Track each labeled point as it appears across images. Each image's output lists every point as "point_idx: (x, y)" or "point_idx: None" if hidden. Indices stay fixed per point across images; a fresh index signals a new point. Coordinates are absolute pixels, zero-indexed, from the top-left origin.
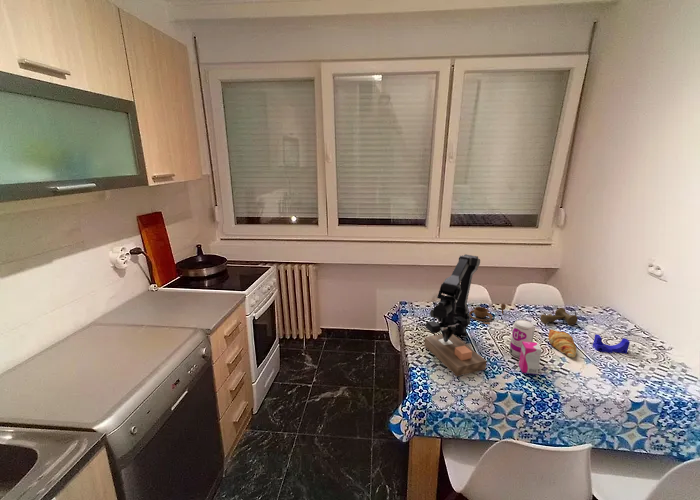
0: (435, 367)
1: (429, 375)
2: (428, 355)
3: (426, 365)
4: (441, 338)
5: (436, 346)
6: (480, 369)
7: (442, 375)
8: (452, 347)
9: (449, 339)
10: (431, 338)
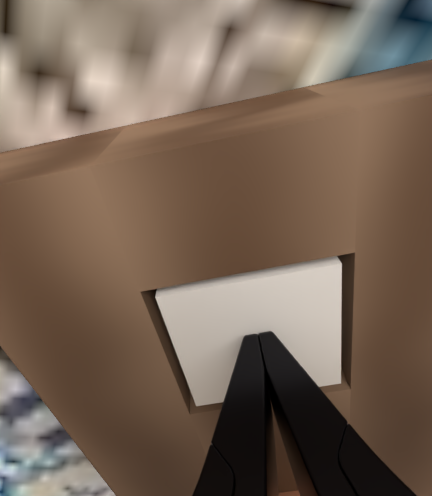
0: (69, 446)
1: (16, 488)
2: None
3: (2, 431)
4: (235, 272)
5: (84, 423)
6: None
7: (99, 490)
8: None
9: (352, 309)
10: (43, 257)
